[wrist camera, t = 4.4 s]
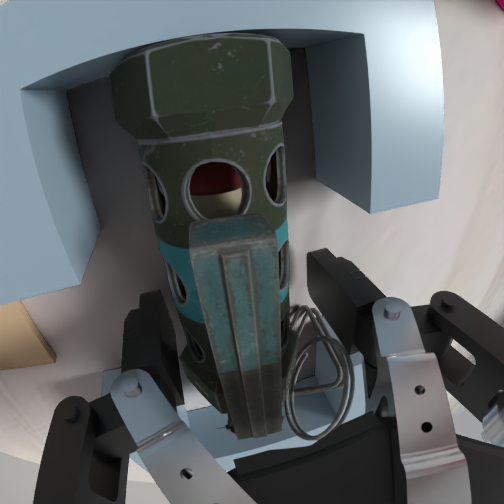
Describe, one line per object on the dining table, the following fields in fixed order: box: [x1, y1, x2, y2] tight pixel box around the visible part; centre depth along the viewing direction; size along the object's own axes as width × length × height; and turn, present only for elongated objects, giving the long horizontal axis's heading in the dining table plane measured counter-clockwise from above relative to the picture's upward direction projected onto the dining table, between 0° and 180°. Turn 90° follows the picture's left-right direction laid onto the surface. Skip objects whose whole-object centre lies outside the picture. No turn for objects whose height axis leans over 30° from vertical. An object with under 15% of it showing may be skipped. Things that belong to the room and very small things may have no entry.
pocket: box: [0, 0, 444, 472], centre depth 11 cm, size 22×14×4 cm, turn 7°
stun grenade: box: [109, 33, 355, 441], centre depth 9 cm, size 6×6×14 cm
